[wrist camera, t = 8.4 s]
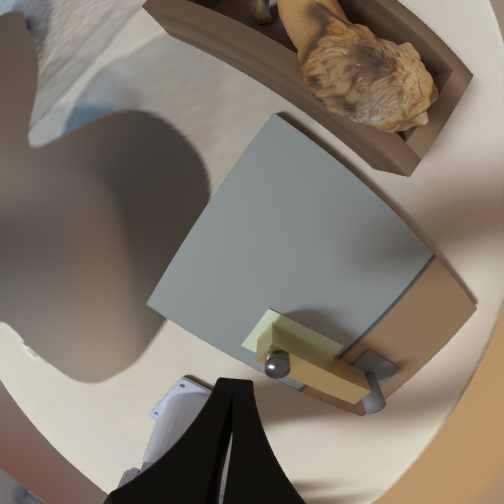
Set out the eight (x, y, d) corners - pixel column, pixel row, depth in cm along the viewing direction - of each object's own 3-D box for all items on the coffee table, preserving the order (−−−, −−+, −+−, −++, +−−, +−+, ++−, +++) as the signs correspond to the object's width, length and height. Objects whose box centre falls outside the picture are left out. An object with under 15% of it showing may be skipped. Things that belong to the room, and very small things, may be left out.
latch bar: (363, 370, 20) (374, 400, 17) (348, 384, 21) (356, 413, 17) (272, 322, 19) (272, 354, 15) (257, 338, 19) (255, 371, 16)
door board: (360, 410, 24) (369, 443, 20) (150, 299, 20) (126, 332, 16) (472, 304, 19) (498, 329, 15) (273, 114, 15) (275, 101, 11)
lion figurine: (390, 122, 15) (480, 110, 6) (322, 153, 16) (379, 156, 7) (277, -38, 11) (280, -116, 2) (210, -13, 12) (177, -91, 3)
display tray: (373, 169, 16) (409, 177, 12) (170, 35, 14) (141, 6, 9) (432, 86, 14) (473, 75, 9) (243, -38, 11) (236, -76, 6)
